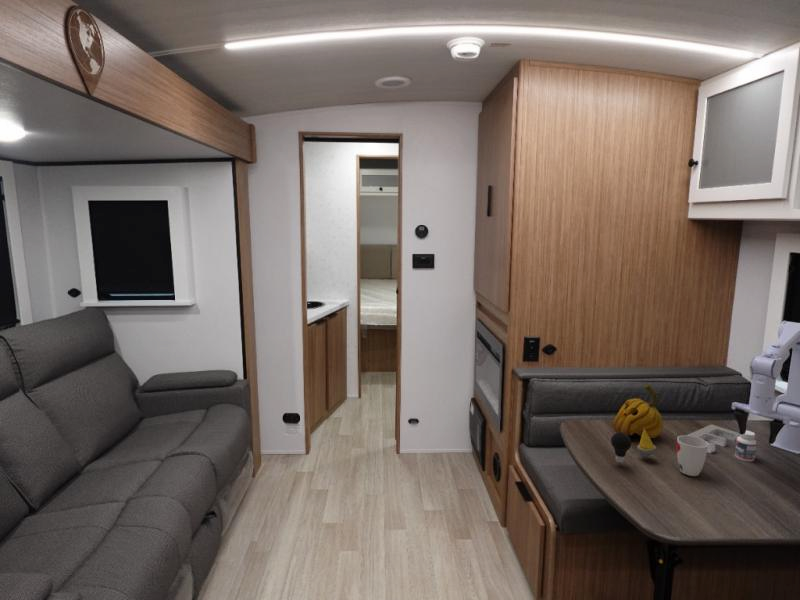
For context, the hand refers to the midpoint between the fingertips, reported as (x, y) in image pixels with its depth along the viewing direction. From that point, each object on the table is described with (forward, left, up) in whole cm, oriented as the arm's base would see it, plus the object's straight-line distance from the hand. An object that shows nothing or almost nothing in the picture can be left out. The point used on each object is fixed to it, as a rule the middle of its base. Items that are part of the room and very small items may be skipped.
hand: (756, 438), depth 146 cm
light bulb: (+31, -25, -11) cm, 41 cm away
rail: (-11, -17, -10) cm, 23 cm away
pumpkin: (+12, -36, -11) cm, 40 cm away
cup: (+18, -10, -11) cm, 23 cm away
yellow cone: (+20, -22, -11) cm, 32 cm away
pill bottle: (-7, -5, -11) cm, 14 cm away
